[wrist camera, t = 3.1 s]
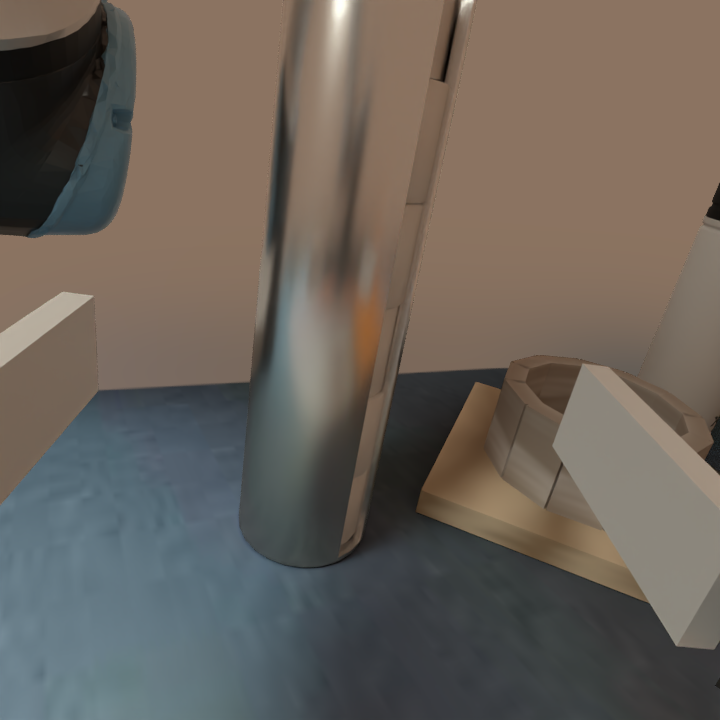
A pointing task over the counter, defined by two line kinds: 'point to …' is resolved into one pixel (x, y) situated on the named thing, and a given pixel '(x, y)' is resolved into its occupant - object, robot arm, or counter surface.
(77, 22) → the robot arm
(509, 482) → the collar
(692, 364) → the travel mug
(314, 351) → the metal cylinder
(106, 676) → the counter surface
